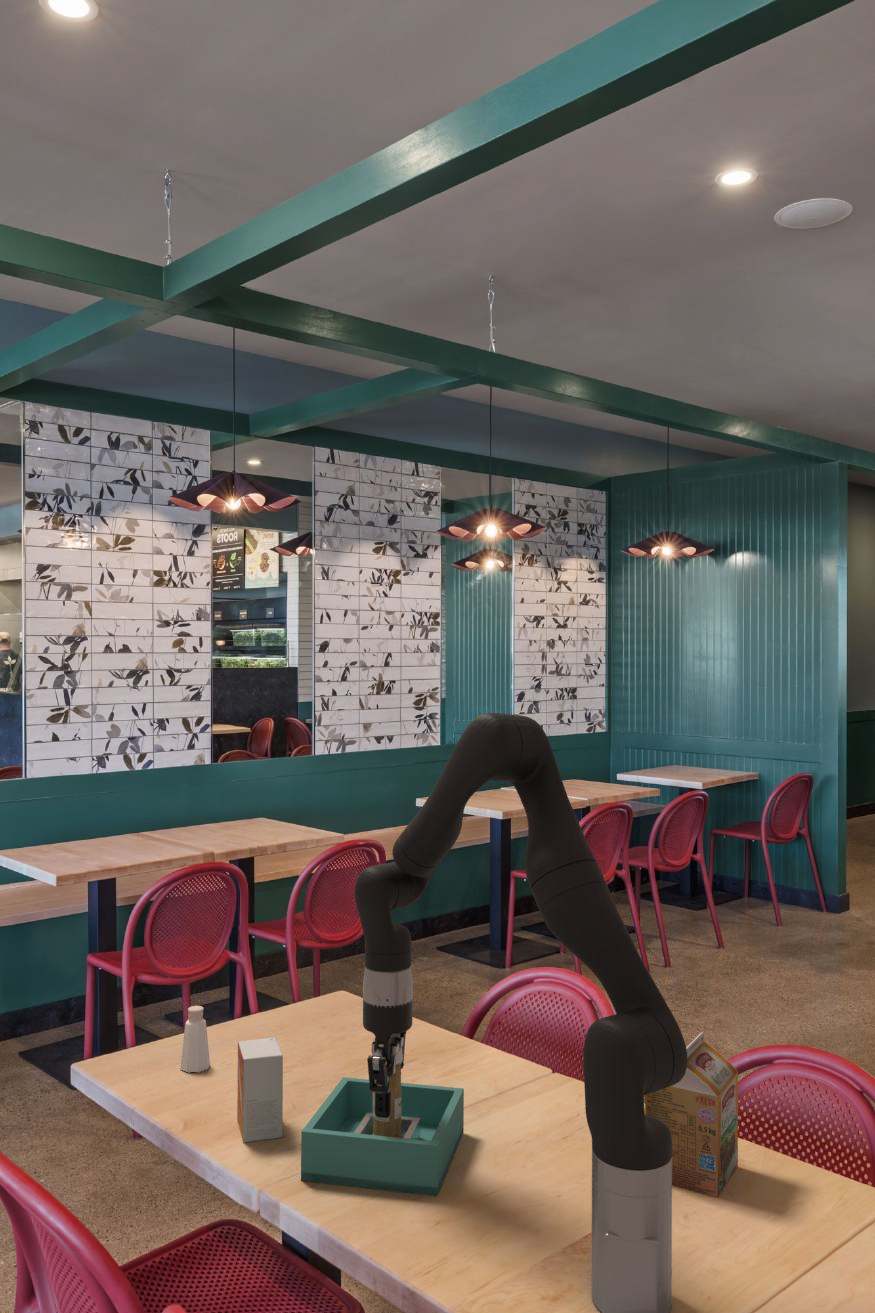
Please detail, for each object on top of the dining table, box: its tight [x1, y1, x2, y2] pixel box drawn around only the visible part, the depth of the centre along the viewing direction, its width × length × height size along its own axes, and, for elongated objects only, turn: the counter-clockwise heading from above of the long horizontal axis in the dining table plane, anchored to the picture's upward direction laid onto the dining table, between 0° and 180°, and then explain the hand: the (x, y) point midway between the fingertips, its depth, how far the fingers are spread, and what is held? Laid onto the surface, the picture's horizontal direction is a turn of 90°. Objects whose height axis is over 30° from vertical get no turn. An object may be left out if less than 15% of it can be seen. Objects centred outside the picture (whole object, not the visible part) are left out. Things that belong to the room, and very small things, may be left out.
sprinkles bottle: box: [371, 1047, 402, 1138], centre depth 154 cm, size 5×5×14 cm
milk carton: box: [644, 1031, 739, 1199], centre depth 149 cm, size 11×11×19 cm
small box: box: [236, 1037, 284, 1143], centre depth 162 cm, size 8×6×13 cm
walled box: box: [300, 1076, 465, 1197], centre depth 154 cm, size 20×20×7 cm
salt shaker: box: [179, 1005, 211, 1074], centre depth 187 cm, size 5×5×11 cm
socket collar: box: [354, 1113, 421, 1140], centre depth 154 cm, size 9×9×3 cm
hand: (387, 1108), depth 154 cm, fingers closed on sprinkles bottle, 4 cm apart
